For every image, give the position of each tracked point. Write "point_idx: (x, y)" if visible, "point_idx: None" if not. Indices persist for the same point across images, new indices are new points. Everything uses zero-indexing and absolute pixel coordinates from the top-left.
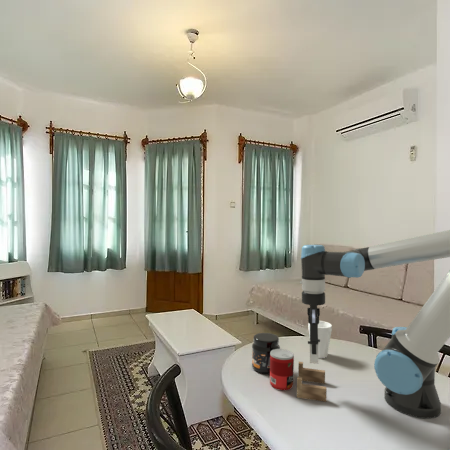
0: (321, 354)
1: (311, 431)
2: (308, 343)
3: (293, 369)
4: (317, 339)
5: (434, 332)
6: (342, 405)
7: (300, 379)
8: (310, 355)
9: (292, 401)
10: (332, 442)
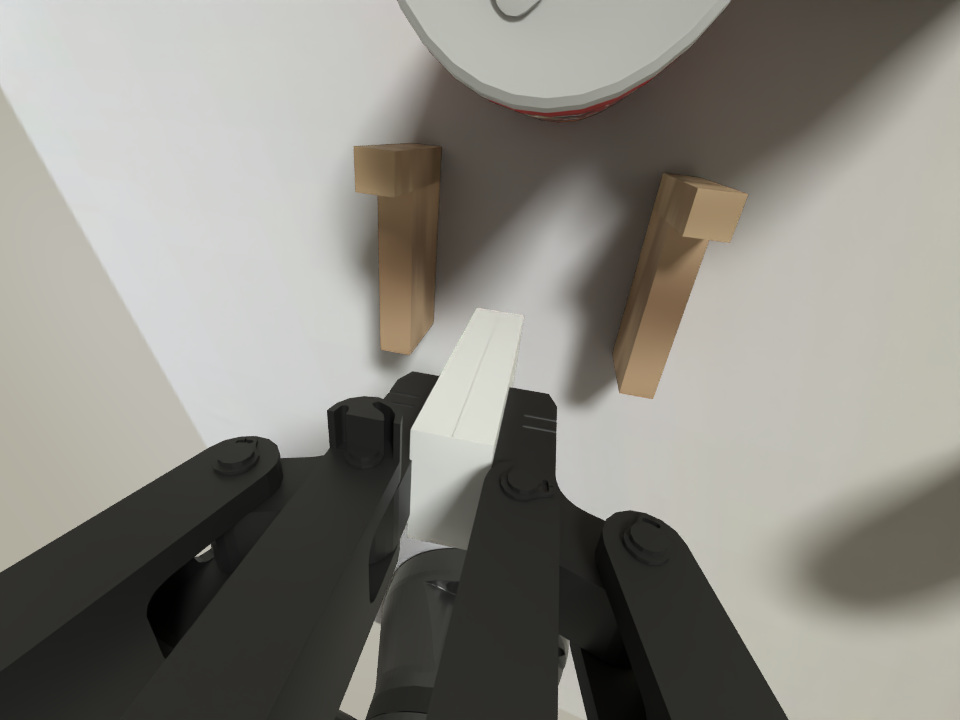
0: None
1: (143, 201)
2: (347, 410)
3: (538, 117)
4: (152, 616)
5: None
6: None
7: (357, 179)
8: (458, 346)
9: (357, 108)
10: (126, 281)
